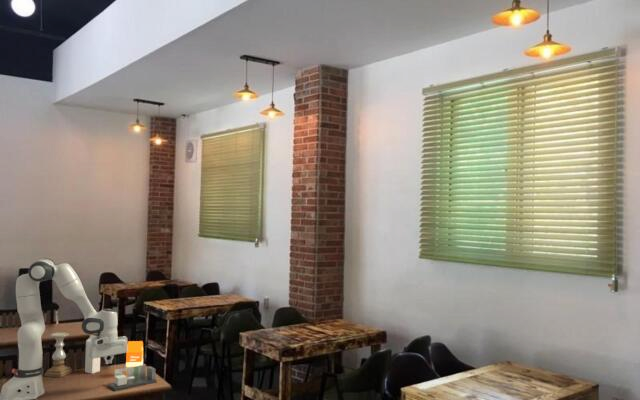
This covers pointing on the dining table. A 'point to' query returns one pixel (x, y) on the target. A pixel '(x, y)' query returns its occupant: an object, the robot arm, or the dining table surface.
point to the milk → (90, 363)
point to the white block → (122, 379)
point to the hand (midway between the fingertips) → (108, 363)
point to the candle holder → (59, 357)
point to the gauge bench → (135, 377)
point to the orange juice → (134, 353)
